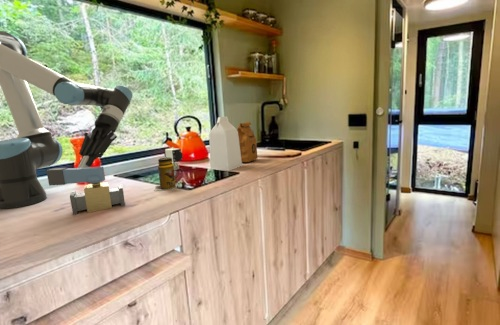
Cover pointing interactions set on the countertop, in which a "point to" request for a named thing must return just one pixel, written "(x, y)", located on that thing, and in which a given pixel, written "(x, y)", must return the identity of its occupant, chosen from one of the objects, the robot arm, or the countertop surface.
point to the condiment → (166, 174)
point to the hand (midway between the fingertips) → (80, 173)
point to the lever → (75, 175)
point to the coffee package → (247, 143)
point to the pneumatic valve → (174, 156)
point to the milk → (224, 146)
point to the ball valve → (97, 197)
